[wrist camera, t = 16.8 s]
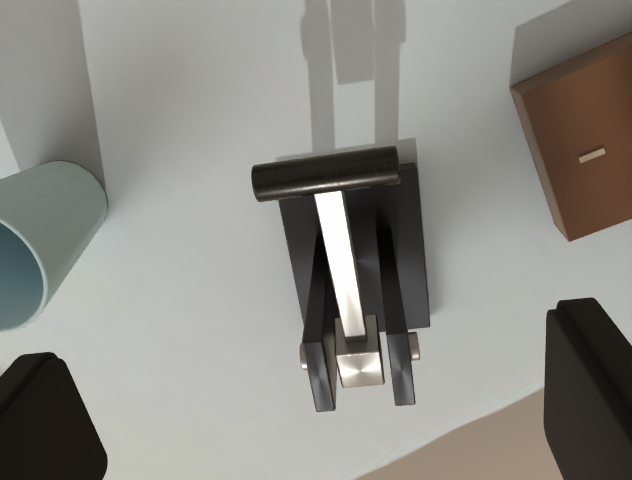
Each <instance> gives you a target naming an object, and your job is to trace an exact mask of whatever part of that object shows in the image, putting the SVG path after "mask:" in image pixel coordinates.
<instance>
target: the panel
mask: <svg viewBox="0 0 632 480" xmlns="http://www.w3.org/2000/svg"><path fill="white" fill-rule="evenodd" d="M510 91H511V94H512V97H513V100H514V103H515V106H516V109H517V112H518V115H519V118H520V121H521V124H522V127H523V130H524V133H525V136H526V139H527V142H528V145H529V148H530V151H531V154H532V157H533V160H534V163H535V166H536V169H537V172H538V175H539V178H540V181H541V184H542V187H543V190H544V193H545V196H546V199H547V203H548V206H549V209H550V212H551V215H552V218H553V221H554V224H555V226H556V227H557V228H558V230H559V231H560V232H561V233H562V234H563V236H564V237H565V238H566V239H567V240H568V241H569V242H570V241H573V240H576V239H578V238H581V237H584V236H586V235H589V234H592V233H594V232H597V231H600V230H603V229H605V228H608V227H611V226H613V225H616V224H619V223H622V222H624V221H627V220H630V219H632V32H631V33H628V34H626V35H624V36H622V37H620V38H617V39H615V40H613V41H611V42H608V43H606V44H604V45H602V46H600V47H597V48H595V49H593V50H591V51H588V52H586V53H584V54H582V55H580V56H577V57H575V58H573V59H571V60H568V61H566V62H564V63H562V64H560V65H557V66H555V67H553V68H551V69H548V70H546V71H544V72H542V73H540V74H537V75H535V76H533V77H531V78H529V79H526V80H524V81H522V82H520V83H517V84H515V85H513V86H511V87H510Z"/></svg>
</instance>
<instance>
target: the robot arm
mask: <svg viewBox="0 0 632 480" xmlns="http://www.w3.org/2000/svg"><path fill="white" fill-rule="evenodd" d="M544 391H545V392H544V430H545V435H546V438H547V441H548V444H549V446H550V449H551V451H552V453H553V456H554V458H555V460H556V463H557V465H558V467H559V469H560V472H561V474H562V477H563V479H564V480H632V346H631V344H630V343H629V342H628V341H627V339H626V338H625V337H624V335H623V334H622V333H621V331H620V330H619V329H618V327H617V326H616V325H615V324H614V322H613V321H612V320H611V318H610V317H609V316H608V314H607V313H606V312H605V311H604V309H603V308H602V307H601V305H600V304H599V303H598V301H597V300H596V299H595V298H581V299H571V300H561V301H559V302H558V304H557V308H556V309H553V310H548V312H547V318H546V353H545V389H544ZM107 463H108V460H107V454H106V452H105V450H104V447H103V445H102V443H101V441H100V438H99V436H98V434H97V432H96V429H95V427H94V425H93V423H92V421H91V418H90V416H89V414H88V412H87V409H86V407H85V405H84V403H83V401H82V398H81V396H80V394H79V392H78V389H77V387H76V385H75V383H74V381H73V378H72V376H71V374H70V372H69V369H68V367H67V365H66V363H65V362H64V360H62V359H59V358H58V357H57V356H56V355H55V354H54V353H51V352H44V353H34V354H24V355H21V356H19V357H18V358H17V359H16V360H15V361H14V362H13V363H12V364H11V365H10V367H9V368H8V369H7V370H6V371H5V372H4V373H3V374H2V376H1V377H0V480H102V479H103V477H104V475H105V473H106V470H107Z"/></svg>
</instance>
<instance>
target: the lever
mask: <svg viewBox="0 0 632 480" xmlns="http://www.w3.org/2000/svg"><path fill="white" fill-rule="evenodd" d="M251 179H252V187H253V191H254V195H255V197H256V199H257V201H259V202H265V201H272V200H280V199H288V198H295V197H303V196H311V195H314V198H315V202H316V207H317V212H318V216H319V221H320V226H321V230H322V235H323V240H324V244H325V249H326V254H327V258H328V263H329V268H330V273H331V277H332V282H333V287H334V291H335V296H336V301H337V305H338V310H339V315H340V318H335V320H334V340H335V359H336V363H337V367H338V371H339V375H340V379H341V384H342V387H343V388H347V387H359V386H371V385H382V384H384V383H385V379H384V369H383V359H382V349H381V341H380V334H379V328H378V321H377V316H376V315H375V314H373V315H365V313H364V307H363V301H362V295H361V289H360V284H359V278H358V272H357V266H356V260H355V254H354V248H353V242H352V236H351V230H350V224H349V218H348V212H347V206H346V200H345V194H344V191H349V190H357V189H364V188H372V187H380V186H387V185H395V184H399V183H400V169H399V161H398V153H397V148H396V146H388V147H381V148H374V149H366V150H359V151H352V152H345V153H338V154H330V155H323V156H316V157H309V158H302V159H295V160H287V161H280V162H273V163H266V164H259V165H254V166H253V167H252V172H251Z"/></svg>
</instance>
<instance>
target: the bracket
mask: <svg viewBox="0 0 632 480" xmlns="http://www.w3.org/2000/svg"><path fill="white" fill-rule="evenodd" d="M399 169H400V183H399V184H395V185H387V186H380V187H372V188H364V189H357V190H349V191H344V194H345V200H346V206H347V212H348V218H349V224H350V230H351V236H352V242H353V248H354V254H355V260H356V266H357V272H358V278H359V284H360V289H361V295H362V301H363V307H364V313H365V315H373V314H375V315H376V316H377V321H378V328H379V332H385V331H386V336H387V344H388V351H389V359H390V367H391V375H392V383H393V391H394V399H395V405H396V406H402V405H414V404H415V394H414V384H413V375H412V365H411V361H412V360H420V351H419V343H418V337H417V333H416V332H409V333H408V329H416V328H426V327H430V317H429V305H428V293H427V281H426V269H425V257H424V245H423V233H422V221H421V209H420V197H419V185H418V173H417V167H416V164H415V163H409V164H401V165H399ZM278 201H279V206H280V211H281V216H282V221H283V225H284V230H285V235H286V240H287V245H288V250H289V255H290V260H291V265H292V269H293V274H294V279H295V284H296V289H297V294H298V299H299V304H300V309H301V313H302V318H303V323H304V331H303V338H302V343H301V344H300V362H301V367H302V369H303V370H308V374H309V379H310V384H311V389H312V393H313V398H314V403H315V408H316V411H317V412H323V411H334V410H335V408H336V380H337V363H336V359H335V340H334V320H335V318H340V315H339V310H338V305H337V301H336V296H335V291H334V287H333V282H332V277H331V273H330V268H329V263H328V258H327V254H326V249H325V244H324V240H323V235H322V230H321V226H320V221H319V216H318V212H317V207H316V202H315V198H314V195H311V196H303V197H295V198H288V199H280V200H278Z"/></svg>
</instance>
